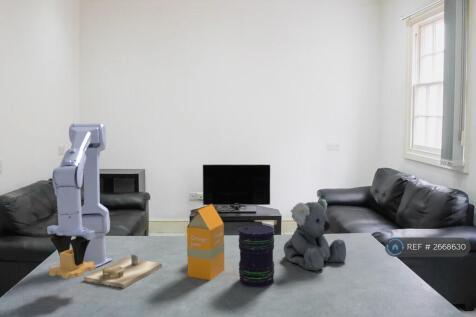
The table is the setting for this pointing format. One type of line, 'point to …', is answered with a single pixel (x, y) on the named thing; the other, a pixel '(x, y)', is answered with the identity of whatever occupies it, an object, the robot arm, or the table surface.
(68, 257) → the gear
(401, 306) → the table surface
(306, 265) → the koala plush
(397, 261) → the table surface
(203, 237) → the orange juice
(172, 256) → the table surface
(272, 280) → the storage jar
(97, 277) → the carrier plate
